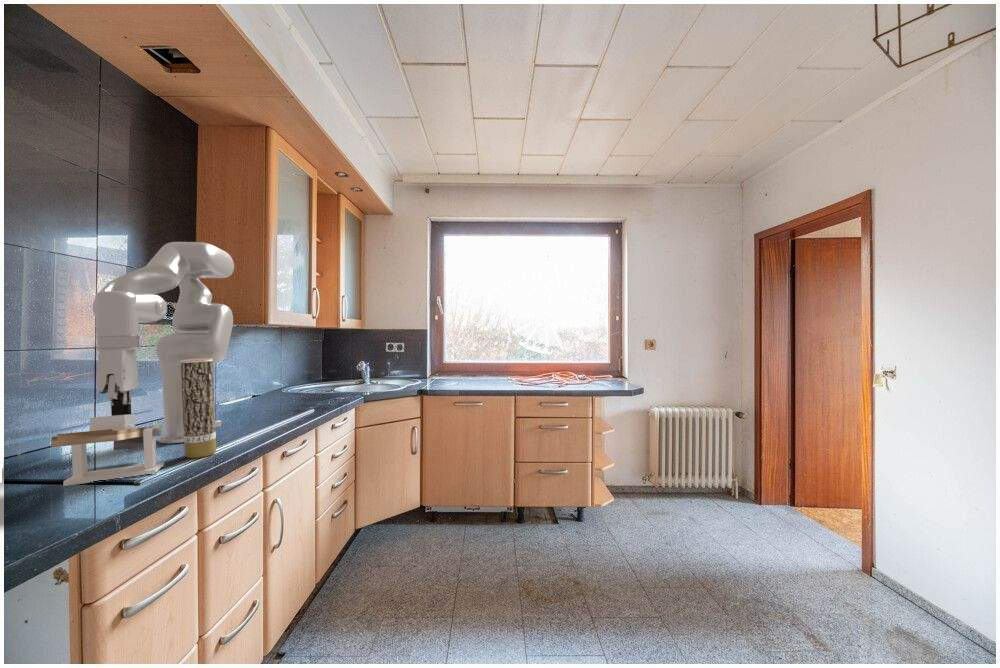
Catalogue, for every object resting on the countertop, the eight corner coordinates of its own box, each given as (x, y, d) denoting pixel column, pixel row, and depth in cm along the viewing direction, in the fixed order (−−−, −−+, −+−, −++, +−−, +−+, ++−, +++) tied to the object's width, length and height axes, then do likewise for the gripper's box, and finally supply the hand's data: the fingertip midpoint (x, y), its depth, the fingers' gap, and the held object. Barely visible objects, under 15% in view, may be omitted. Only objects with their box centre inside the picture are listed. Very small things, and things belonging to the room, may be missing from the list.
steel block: (101, 434, 99) (102, 417, 99) (134, 431, 101) (135, 414, 102) (89, 436, 93) (89, 417, 94) (124, 433, 96) (124, 414, 96)
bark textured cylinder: (188, 453, 114) (184, 359, 114) (218, 449, 117) (215, 357, 116) (181, 460, 108) (177, 361, 107) (213, 456, 111) (209, 359, 110)
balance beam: (112, 449, 108) (113, 428, 109) (161, 444, 112) (161, 423, 113) (50, 463, 83) (51, 434, 84) (116, 455, 87) (117, 428, 88)
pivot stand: (75, 477, 98) (73, 433, 97) (165, 465, 104) (163, 424, 104) (61, 486, 92) (59, 439, 92) (157, 473, 99) (155, 430, 99)
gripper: (111, 343, 107) (115, 417, 107) (82, 345, 93) (86, 430, 94) (149, 342, 110) (152, 414, 110) (126, 344, 96) (129, 426, 97)
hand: (121, 421), depth 102 cm, fingers closed
